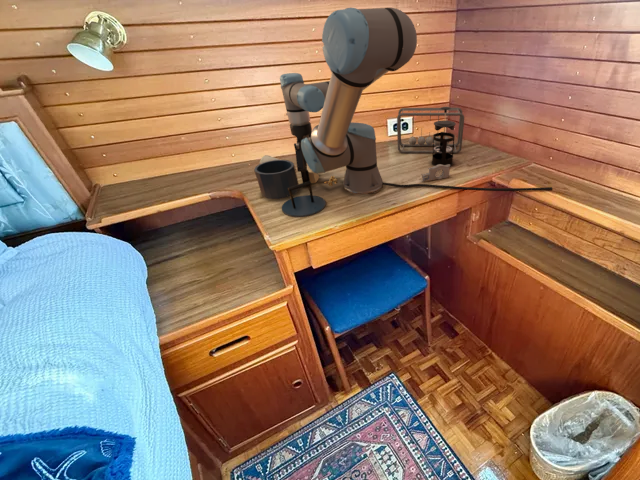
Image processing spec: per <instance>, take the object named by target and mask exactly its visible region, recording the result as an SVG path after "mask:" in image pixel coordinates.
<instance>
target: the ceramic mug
mask: <svg viewBox="0 0 640 480" xmlns="http://www.w3.org/2000/svg"><path fill="white" fill-rule="evenodd" d="M272 160H281V159H280V158H276V157H274V156H271V155H268V154H266V155H263V156H262V157H261V158H260V160H259V164H261V163H263V162H267V161H272ZM259 164H258V165H259Z"/></svg>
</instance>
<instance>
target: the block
mask: <svg viewBox="0 0 640 480" xmlns="http://www.w3.org/2000/svg"><path fill="white" fill-rule="evenodd" d="M307 170H308V173H309V178H310V182H311V184H316V183H317V181H318V180H319V179H320V176H319V173H318V174H316V173H314V172H313V171H312V170H311V169H310V168H309V166H307Z"/></svg>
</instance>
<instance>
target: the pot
mask: <svg viewBox="0 0 640 480" xmlns="http://www.w3.org/2000/svg"><path fill="white" fill-rule="evenodd" d="M253 171H254V173H255V177H256V181H257V184H258V186H259V191H260V194H261V196H262V197H263V198H265V199H271V200H280V199H286V198H289V197H290V193H289V191H288V188H289V187H292V186H295V185H298V184H299V180H298V176H297V171H296V166H295V163H294V162H293V161H291V160H287V159H280V160H272V161H267V162H263V163H261V164H257V165H256V166H255V167H254V169H253ZM299 191H300V188H298V189H295V190H292V194H293V196H294V195H296V194H297V193H298V192H299Z"/></svg>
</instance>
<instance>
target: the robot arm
mask: <svg viewBox="0 0 640 480" xmlns="http://www.w3.org/2000/svg"><path fill="white" fill-rule="evenodd" d="M413 22H414V21H412V19H411V18H410V16H409V15H408V14H407V13H406V12H404V11H403V10H401V9H399V8H395V7H377V8H375V7H374V8H356V7H346V8H344V9H337V10H334V11H333V12H331V13H330V14H329V15H328V16H327V18H326V20H325V22H324V24H323V29H322V33H321V34H322V35H321V43H323V46H322V54H323V57H324V60H325V62H326V64H327V66H328V69H329V70H330V73H331V74H330V79H329V80H327V81H319V82H313V83H305V81H304V79H303V76H302V74H301V73H299V72H289V73H287V72H286V73H283V74H281V75H280V76H279V81H280V89H281V92H282V96H283V101H284V106H285V110H286V116H287V118H288V123H289V129H290V134H291V135H292V136H294V137H296V143H295V142H294V143H293V147H294V151H295V152H294V153H295V159H296V160H295V161H296V170H297V172H300V175H301V181H302V183H305V182H308V181H310V178H309V173H308V170H307V167H309V168H310V169H311V170H312V171H313V172H314V173H316V174H318V175H319V174H323V173H324V174H325V173H328V172H331V171H334V170H337V169H340V168H343V167H345V172H344V176H343V182H342V183H343V185H342V186H343V189H344V191H346V192H347V193H350V194H353V195H354V194H355V195H373V194H376V193H378V192H380V191H382V189H383V187H384V186H388V187H394V188H414V187H419V188H421V187H423V188H436V189H437V188H438V189H447V190H448V189H450V190H463V191H465V190H466V191H482V192H483V191H484V192H526V191H527V192H531V191H552V190H553V186H549V187H546V186H545V187H514V188H513V187H511V188H509V187H505V188H504V187H502V188H501V187H474V186H473V187H471V186H458V185H457V186H455V185H443V184H441V185H440V184H429V183H410V184H409V183H408V184H398V183H392V182H384V181H383V178H382V175H381V173H380V170H379V168H378V159H377V143H376V142H377V141H376V140H377V138H376V132H375V128H374V127H373V126H372V125H370V124H367V123H363V122H353V121H352V120H353V118H354V116H355V113H356V110H357V108H358V105H359V102H360V99H361V97H362V94H363V91H364V90H366V89H367V88H368V87H370V86H371V85H372V84H374V83H375V82H376V81H378V80H379V79H381V78H382V77H383V76H385V75H386V74H387V73H388V72H396V71H398V70H400V69H401V68H403V67H404V66H405V65H406V64H408V63H409V62H410V61H411V59H412V58H413V56H414V54H415V53H416V49H417V44H418V36H417V29H416V27H415V24H414V23H413ZM320 111H321V114H320V119H319V122H318V124H317V125H316V126H314V127H312V123H311V117H310V113H319V112H320ZM306 187H308V185H307V186H306Z"/></svg>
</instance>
